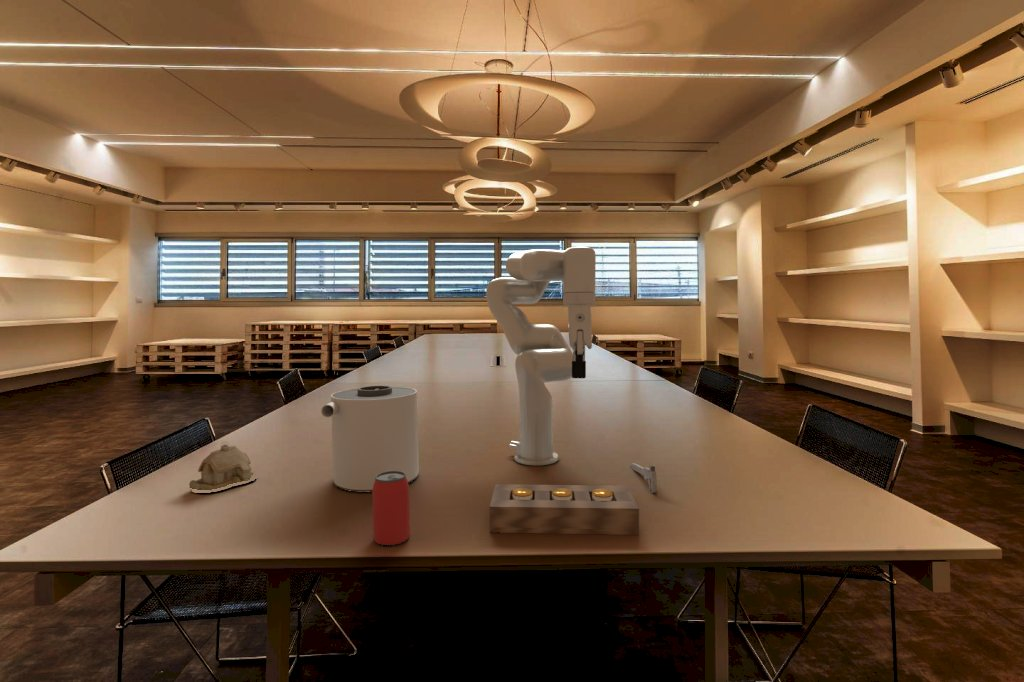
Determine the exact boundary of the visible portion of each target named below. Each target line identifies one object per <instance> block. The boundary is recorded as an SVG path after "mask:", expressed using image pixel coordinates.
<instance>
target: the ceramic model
mask: <svg viewBox="0 0 1024 682" xmlns="http://www.w3.org/2000/svg"><path fill="white" fill-rule="evenodd" d="M250 464H252V461H251V459H250V456H248V454H247V453H246V452H243V451H242V450H241V449H239V448H238V447H237V446H235V445H230V446H229V445H227V444H224V445H221V446H220V449H217V450H214V451H212V452H210V454H209V455H207V456H206V457H205V458H203V460H202V461H201V464H200V465H199V467H198V470H197V472H198V473H200V476H201V477H200V478H199V479H197V480H194V479H191V480H190V482H189V485H188V486H189V489H190V488H192V489H197V490H212V489H217V488H221V487H225V486H227V485H229V484H233V483H237V482H242V481H248V480H250V478H252V476H253V474H255V473H254V472H252V470H253V468H252V467H251V466H250Z"/></svg>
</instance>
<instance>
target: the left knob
mask: <svg viewBox="0 0 1024 682" xmlns="http://www.w3.org/2000/svg"><path fill="white" fill-rule="evenodd" d="M513 500H532V490H531V489H528V488H517V489H514V490H513Z"/></svg>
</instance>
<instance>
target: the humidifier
mask: <svg viewBox="0 0 1024 682" xmlns="http://www.w3.org/2000/svg"><path fill="white" fill-rule="evenodd" d="M320 413H321V415H322V416H323V417H325V418H331V437H332V438H331V442H332V443H331V445H332V472H333V473H332V475H333V484H334V486H335V487H336V488H338V487H339V488H338V489H340V488H342V489H346V490H351V491H372V489H373V484H374V482H375V476H376V475H378V474H380V473H383V472H387V471H401V472H404V473H405V474H406V478H407V481H408V483H409V484H411V483H413V482H414V481H416V479H417V478H418V477H419V473H420V470H419V469H420V467H419V466H420V464H419V462H420V461H419V423H418V417H419V416H418V390H417V389H416V388H413V387H408V386H406V387H405V386H389V385H366V386H361V387H358V388H350V389H344V390H341V391H336V392H333V393H331V395H330V402H328V403H327V404H324V405H323V406H322V408H321V409H320ZM413 480H414V481H413ZM410 482H411V483H410ZM342 489H341V490H342Z"/></svg>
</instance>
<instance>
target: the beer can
mask: <svg viewBox="0 0 1024 682" xmlns="http://www.w3.org/2000/svg"><path fill="white" fill-rule="evenodd" d="M371 494H372V525H373V530H372V532H373V540H374V542H375V543H376V544H378V545H380V544H381V545H380V546H383V545H387V546H386V547H390V545H392V546H396V544H397V545H400V544H403V543H404V542H406V541H407V540H409V538H410V535H411V526H410V525H411V519H410V518H411V517H410V483H409V484H408V481H407V478H406V474H405V473H404V472H401V471H387V472H383V473H380V474H378V475H376V476H375V482H374V484H373V489H372V492H371ZM402 542H403V543H402ZM388 545H389V546H388Z"/></svg>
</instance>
